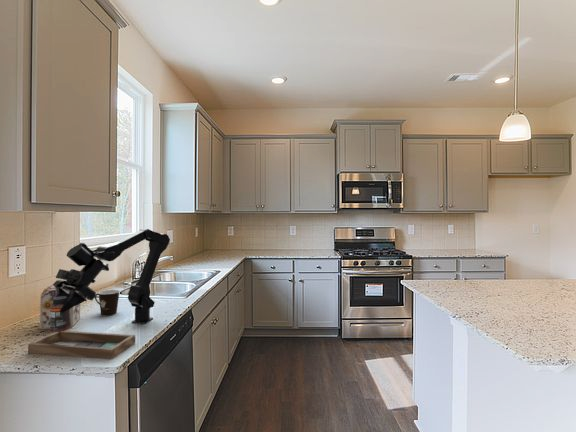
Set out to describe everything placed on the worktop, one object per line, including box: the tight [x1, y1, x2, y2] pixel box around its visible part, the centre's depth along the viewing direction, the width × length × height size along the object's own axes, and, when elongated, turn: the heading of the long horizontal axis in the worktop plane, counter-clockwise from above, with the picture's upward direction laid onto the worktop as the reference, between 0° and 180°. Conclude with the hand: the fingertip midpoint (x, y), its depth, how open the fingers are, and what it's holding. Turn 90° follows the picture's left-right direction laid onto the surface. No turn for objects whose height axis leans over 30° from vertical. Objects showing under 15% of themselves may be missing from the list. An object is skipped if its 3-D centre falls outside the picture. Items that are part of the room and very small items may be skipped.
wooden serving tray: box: [27, 330, 136, 360], centre depth 116 cm, size 13×30×3 cm, turn 83°
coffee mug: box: [94, 289, 120, 317], centre depth 155 cm, size 12×9×10 cm
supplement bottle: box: [49, 296, 72, 333], centre depth 117 cm, size 6×6×11 cm
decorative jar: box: [39, 279, 81, 330], centre depth 140 cm, size 12×12×18 cm
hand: (56, 310), depth 115 cm, fingers closed on supplement bottle, 6 cm apart
